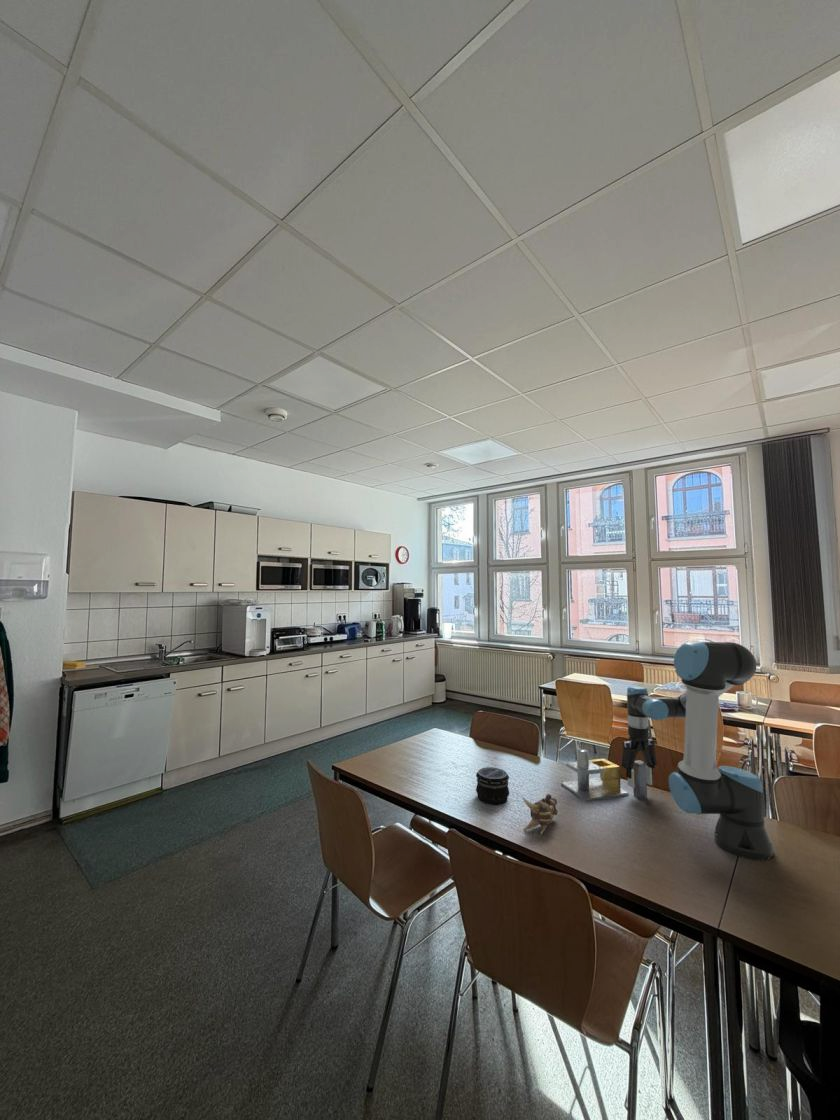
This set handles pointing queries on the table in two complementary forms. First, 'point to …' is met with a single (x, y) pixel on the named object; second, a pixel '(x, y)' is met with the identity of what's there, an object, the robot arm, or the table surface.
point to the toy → (542, 812)
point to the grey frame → (594, 787)
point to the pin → (640, 779)
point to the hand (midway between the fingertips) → (639, 784)
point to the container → (492, 786)
